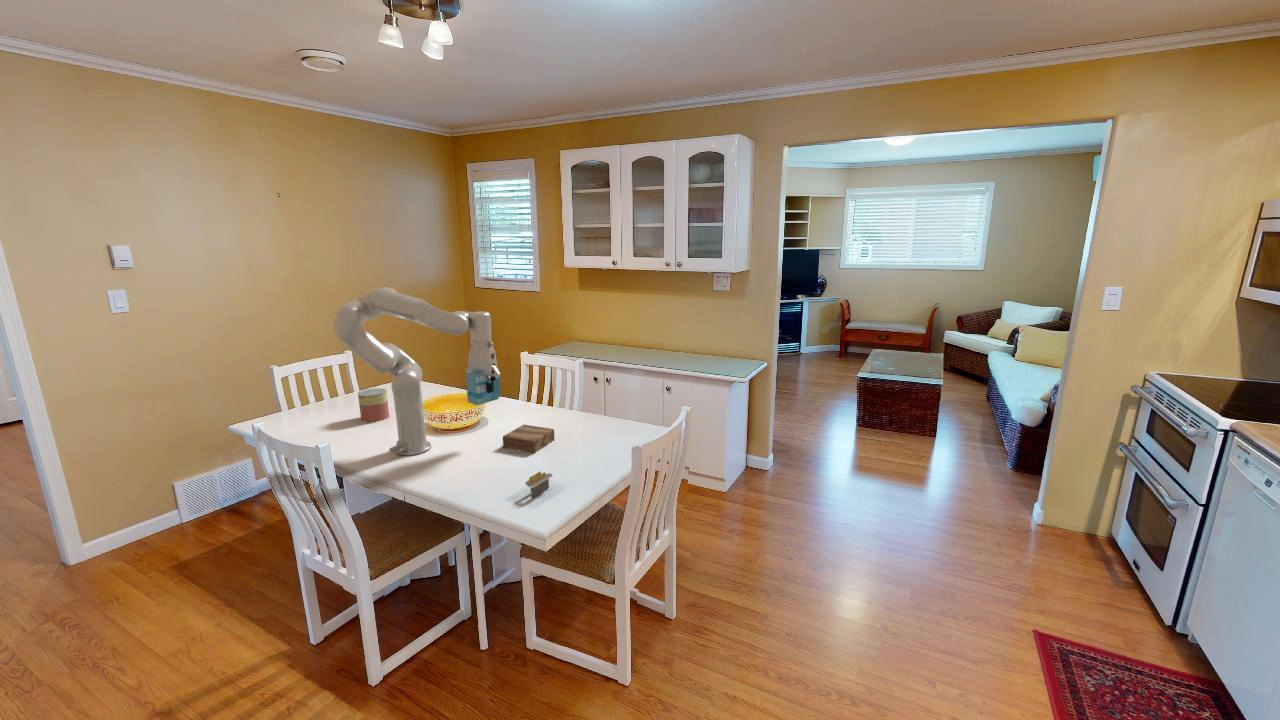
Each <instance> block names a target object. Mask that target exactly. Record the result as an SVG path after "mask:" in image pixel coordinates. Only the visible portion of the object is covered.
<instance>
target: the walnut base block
mask: <svg viewBox="0 0 1280 720" xmlns="http://www.w3.org/2000/svg"><path fill="white" fill-rule="evenodd" d="M552 441H553V442H554V441H555V429H554V428H550V427H543V426H542V427H541V426H535V425H529V424H522V425H520V426H519V427H516V428H515V429H513V430H512V431H510V432H507V433H506V434H504V435H503V436H502V445H503V446H502V447H503V449H507V448H508V449H507V450H513V449H514V450H513V451H519V450H520V452H524V451H526V453H530V452H531V454H536V453H538V452H539V451H541V450H542V449H544V448H545V447H547V446H549V445H550V444H551V443H552ZM549 443H550V444H549ZM540 449H541V450H540ZM537 451H538V452H537Z"/></svg>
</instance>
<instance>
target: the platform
mask: <svg viewBox="0 0 1280 720" xmlns="http://www.w3.org/2000/svg"><path fill="white" fill-rule="evenodd" d="M550 478H553V474H552V473H546V472H545V471H544V472H542V471H541V470H540V471H538V472H537V473H534V474H533V475H531V476H529V477H528V480H527V481H525V485H526V486H527V487H528V488H530V495H531V499H534V498H536V497H537V496H539V495H541V494H542V493H544V492H546V491H547V490H549V489H550V484H549V483H550ZM548 488H549V489H548ZM540 493H541V494H540ZM535 496H536V497H535Z"/></svg>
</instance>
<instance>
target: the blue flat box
mask: <svg viewBox="0 0 1280 720" xmlns="http://www.w3.org/2000/svg"><path fill="white" fill-rule="evenodd" d="M492 373H493V371H492ZM494 375H495V373H494V374H493V376H494ZM465 377H466V394H467V395H466V396H467V397H466V398H467V402H468V403H469V404H472V405H475V406H479V405H484V404H486V403H489V402H492V401H497V400H498V399H500V396H501V393H500V390H501V389H500V376H499V377H498V378H497V379H496V380H495V381H494V391H493V392H491V393H487V383H488V380H487V377H486V376H485V375H484V374H483V373H482V372H474V371H473V372H469V373H468V374H467V373H466V376H465ZM490 378H491V377H490Z"/></svg>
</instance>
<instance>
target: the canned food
mask: <svg viewBox="0 0 1280 720" xmlns="http://www.w3.org/2000/svg"><path fill="white" fill-rule="evenodd" d="M387 391H388V390H387V389H385V388H378V387H377V388H376V387H375V388H369V389H363V390H361V391H359V392H357V395H358V397H357V398H358V403H359V413H360V414H359V415H360V421H361V420H362V421H365V422H364V423H366V422H373V423H377V422H376V421H380V422H382V421H381V420H383V421H385V420H384V419H386V420H388V419H390V413H389V401H388V395H387V393H388V392H387ZM387 418H388V419H387ZM362 421H361V422H362Z"/></svg>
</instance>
